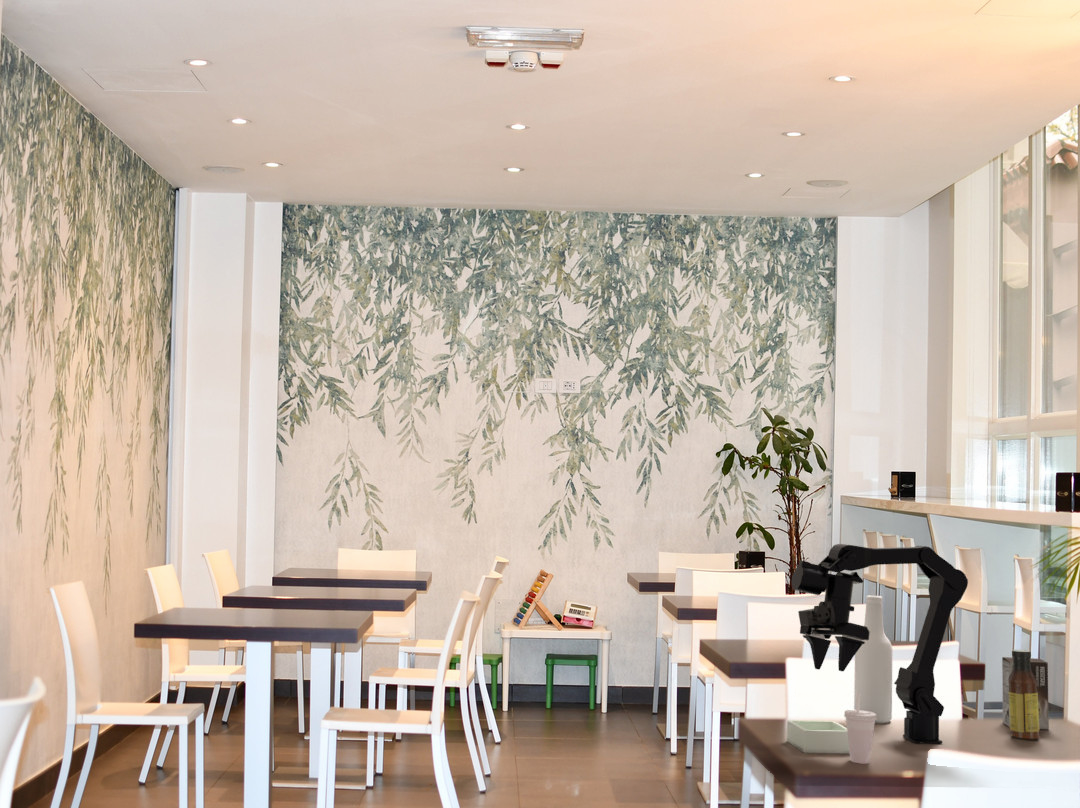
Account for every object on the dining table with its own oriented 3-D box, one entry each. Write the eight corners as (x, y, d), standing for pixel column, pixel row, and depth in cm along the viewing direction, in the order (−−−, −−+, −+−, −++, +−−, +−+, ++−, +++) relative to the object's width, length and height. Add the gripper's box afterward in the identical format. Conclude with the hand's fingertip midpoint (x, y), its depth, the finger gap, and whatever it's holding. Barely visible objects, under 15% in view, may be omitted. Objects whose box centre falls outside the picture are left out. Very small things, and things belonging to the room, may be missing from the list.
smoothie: (838, 757, 221) (839, 687, 222) (869, 757, 221) (869, 688, 223) (850, 764, 214) (851, 693, 216) (881, 765, 215) (882, 694, 216)
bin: (833, 741, 235) (833, 721, 236) (852, 753, 225) (853, 731, 225) (786, 741, 234) (787, 720, 234) (804, 752, 224) (804, 730, 224)
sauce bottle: (1039, 736, 249) (1039, 650, 251) (1039, 742, 244) (1039, 653, 245) (1008, 733, 252) (1008, 647, 254) (1008, 738, 246) (1008, 650, 248)
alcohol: (897, 724, 258) (899, 598, 260) (862, 723, 257) (864, 597, 260) (882, 716, 266) (883, 594, 269) (848, 716, 266) (850, 593, 268)
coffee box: (1039, 724, 264) (1039, 658, 266) (1049, 730, 258) (1049, 662, 259) (1001, 722, 265) (1001, 656, 267) (1010, 727, 259) (1010, 659, 260)
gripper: (784, 592, 246) (775, 661, 242) (830, 591, 229) (821, 664, 225) (826, 603, 249) (817, 670, 245) (874, 602, 232) (866, 675, 228)
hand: (828, 670), depth 236 cm, fingers open, 9 cm apart
